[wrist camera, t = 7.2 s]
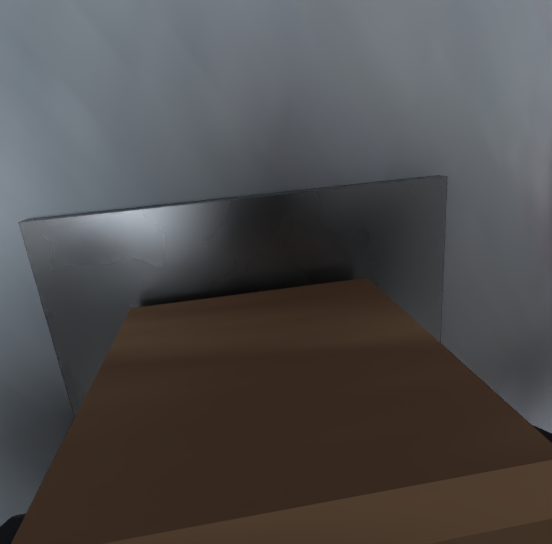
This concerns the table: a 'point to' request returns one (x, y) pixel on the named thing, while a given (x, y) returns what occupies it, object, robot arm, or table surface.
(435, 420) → the cardboard carton
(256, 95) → the table surface
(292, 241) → the gray square base stand
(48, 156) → the table surface
